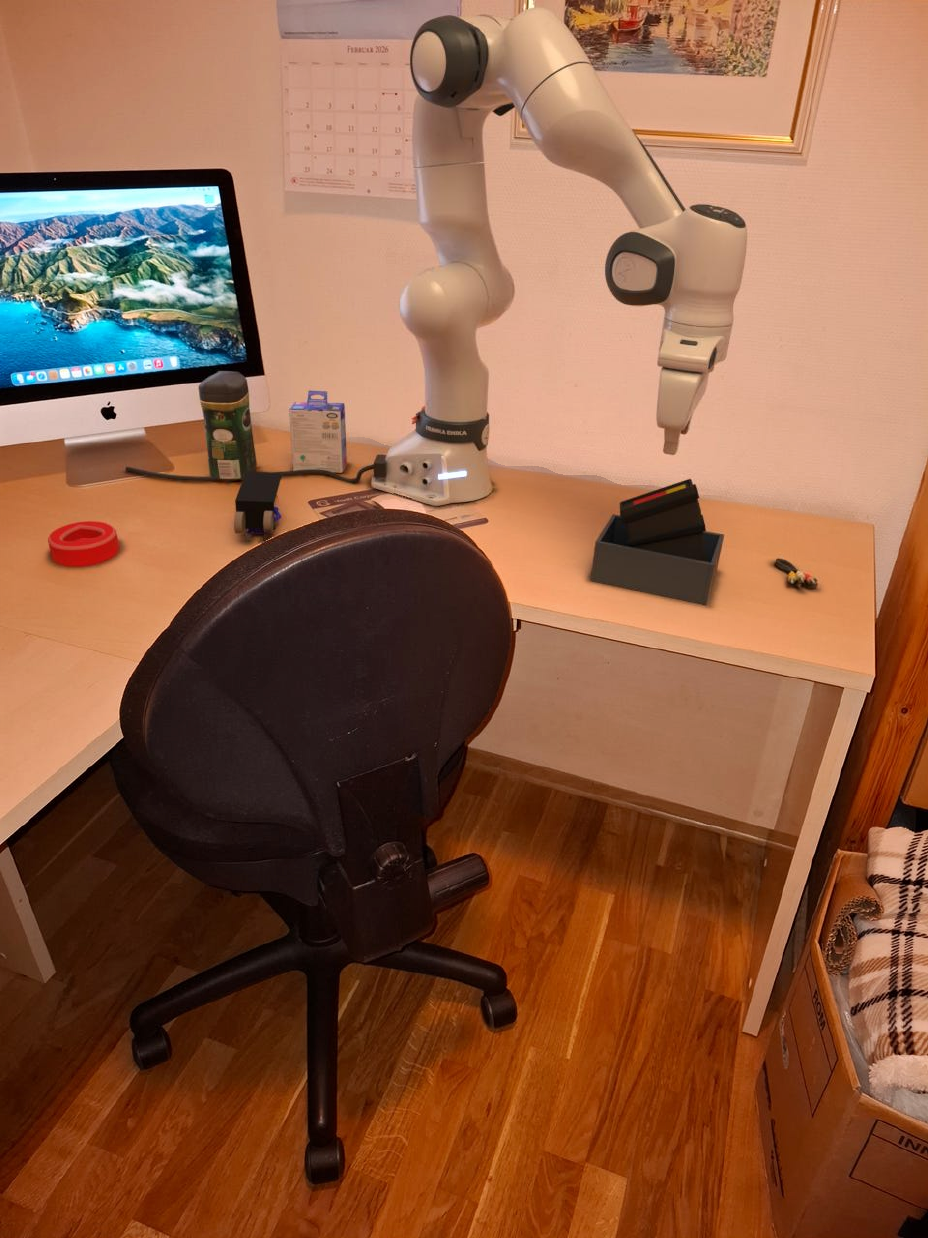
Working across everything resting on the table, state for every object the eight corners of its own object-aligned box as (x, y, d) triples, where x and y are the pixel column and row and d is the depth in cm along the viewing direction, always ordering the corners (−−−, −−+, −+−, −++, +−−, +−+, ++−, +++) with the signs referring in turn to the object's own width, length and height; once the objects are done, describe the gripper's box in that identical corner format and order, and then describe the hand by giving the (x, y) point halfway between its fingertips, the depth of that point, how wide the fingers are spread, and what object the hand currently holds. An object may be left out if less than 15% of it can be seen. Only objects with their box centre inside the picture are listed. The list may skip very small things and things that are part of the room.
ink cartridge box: (348, 463, 166) (345, 390, 158) (344, 473, 161) (341, 398, 154) (297, 461, 166) (292, 388, 158) (292, 472, 161) (287, 396, 154)
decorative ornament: (98, 533, 136) (94, 515, 134) (131, 551, 131) (128, 533, 129) (39, 552, 129) (35, 533, 128) (72, 572, 124) (67, 553, 123)
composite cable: (771, 562, 135) (774, 548, 133) (801, 564, 135) (805, 550, 133) (788, 592, 126) (792, 578, 125) (821, 594, 126) (825, 579, 125)
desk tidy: (590, 580, 127) (595, 541, 124) (607, 550, 136) (612, 513, 133) (706, 605, 122) (714, 565, 119) (716, 572, 131) (724, 534, 128)
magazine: (724, 575, 126) (695, 486, 119) (637, 600, 130) (606, 516, 123) (721, 563, 129) (693, 476, 123) (636, 589, 133) (605, 505, 127)
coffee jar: (221, 463, 164) (209, 366, 154) (261, 465, 163) (252, 368, 154) (204, 481, 155) (190, 380, 146) (246, 484, 155) (235, 383, 145)
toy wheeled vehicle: (278, 554, 135) (286, 506, 146) (273, 513, 130) (282, 467, 142) (235, 554, 134) (246, 506, 146) (229, 513, 129) (241, 467, 141)
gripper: (683, 324, 121) (667, 418, 129) (655, 355, 105) (639, 461, 112) (728, 329, 120) (709, 425, 127) (707, 362, 103) (686, 469, 110)
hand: (675, 442), depth 119 cm, fingers open, 8 cm apart
